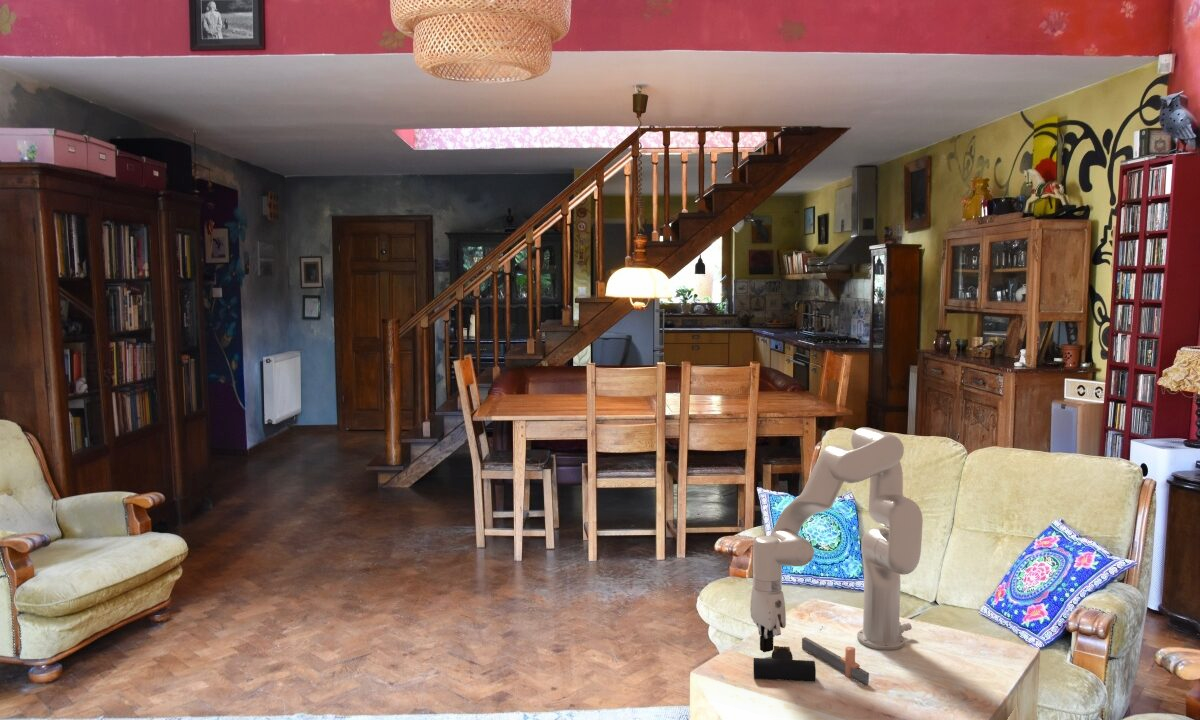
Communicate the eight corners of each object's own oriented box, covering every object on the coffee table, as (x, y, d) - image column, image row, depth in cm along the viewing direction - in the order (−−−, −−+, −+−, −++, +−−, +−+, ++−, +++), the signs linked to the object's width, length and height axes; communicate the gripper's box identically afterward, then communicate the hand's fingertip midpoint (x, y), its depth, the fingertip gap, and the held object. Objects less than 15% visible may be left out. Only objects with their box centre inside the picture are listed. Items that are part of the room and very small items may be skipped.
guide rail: (807, 647, 233) (807, 622, 232) (870, 684, 211) (871, 656, 211) (800, 648, 232) (800, 624, 231) (863, 686, 210) (863, 658, 210)
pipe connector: (752, 642, 224) (810, 645, 222) (752, 661, 225) (810, 664, 223) (754, 662, 213) (815, 665, 211) (754, 683, 214) (815, 686, 211)
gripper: (796, 590, 221) (795, 658, 222) (761, 572, 234) (761, 637, 236) (772, 595, 217) (772, 664, 219) (739, 577, 231) (738, 642, 233)
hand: (766, 650), depth 227 cm, fingers closed
